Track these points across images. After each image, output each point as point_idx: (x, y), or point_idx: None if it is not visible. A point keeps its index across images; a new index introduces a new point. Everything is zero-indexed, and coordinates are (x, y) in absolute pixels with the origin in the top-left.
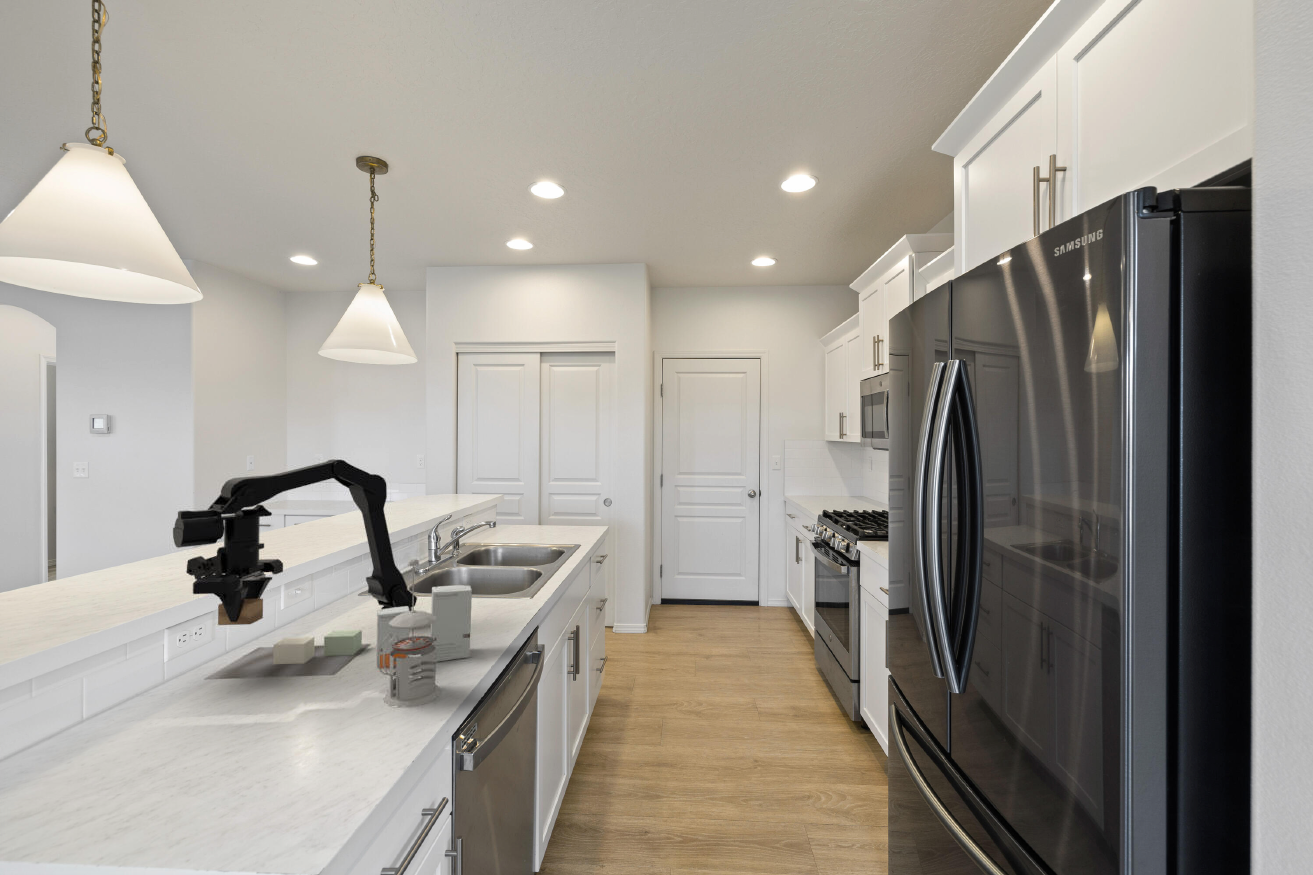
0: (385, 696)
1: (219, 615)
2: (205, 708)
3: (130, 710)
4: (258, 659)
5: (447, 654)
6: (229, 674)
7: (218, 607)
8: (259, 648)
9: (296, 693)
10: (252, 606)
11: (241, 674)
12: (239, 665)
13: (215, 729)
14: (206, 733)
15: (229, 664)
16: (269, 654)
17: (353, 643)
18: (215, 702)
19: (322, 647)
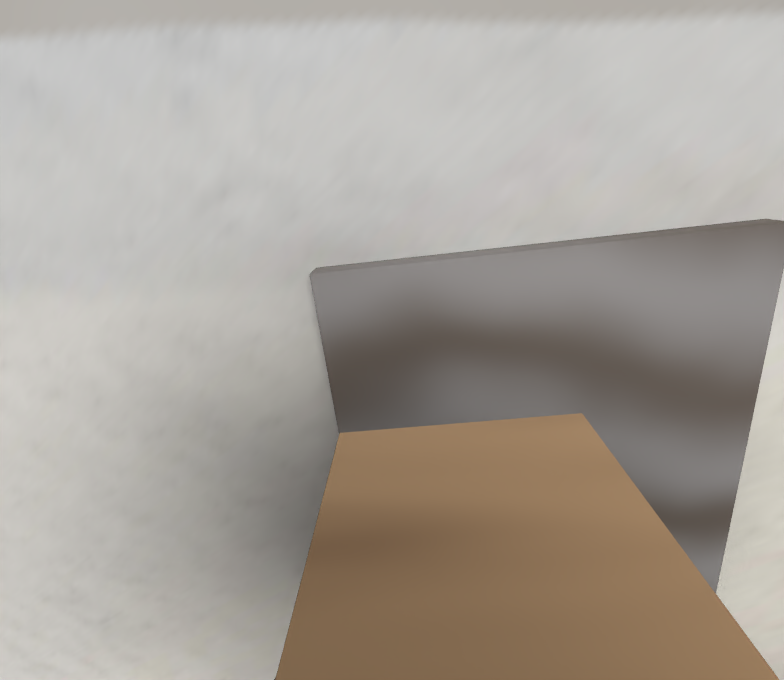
0: None
1: (325, 526)
2: (136, 438)
3: (37, 152)
4: (567, 357)
5: None
6: (373, 353)
7: (291, 638)
8: (767, 240)
9: (288, 619)
10: None
11: (374, 407)
12: (489, 318)
13: (40, 556)
14: (15, 549)
15: (506, 254)
16: (640, 362)
17: None
18: (183, 437)
19: (697, 538)
